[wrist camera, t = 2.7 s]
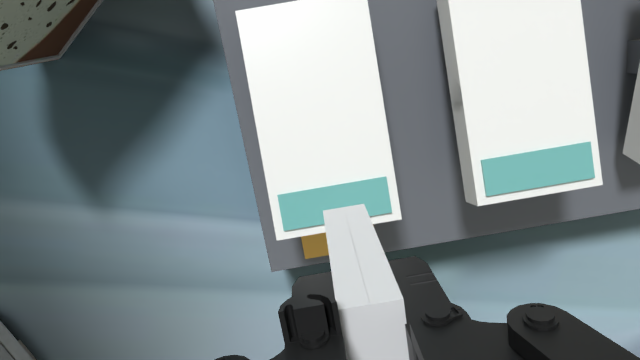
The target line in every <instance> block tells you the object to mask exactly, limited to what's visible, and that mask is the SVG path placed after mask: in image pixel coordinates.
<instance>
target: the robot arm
mask: <svg viewBox="0 0 640 360" xmlns="http://www.w3.org/2000/svg"><path fill="white" fill-rule="evenodd" d="M323 216H324V223H325V230H326V237H327V244H328V251H329V259H330V266H331V272H325V273H319V274H314V275H308V276H302V277H299V278H298V279H297V281H296V282H295V283H294V285H293V286H292V297H291V298H289V299H288V300H286V301H285V302H284V303H283V304H282V305H281V306H280V309H279V311H278V314H279V319H280V323H281V328H282V333H283V337H284V342H285V349H284V350H283V351H282V352H281V353H280V354H278V355H277V356H275V357H274V358H272V359H270V360H640V358H638V357H637V356H635V355H634V354H632V353H631V352H629V351H627V350H626V349H624V348H623V347H621V346H620V345H618V344H616V343H615V342H613V341H612V340H610V339H609V338H607V337H605V336H604V335H602V334H601V333H599V332H598V331H596V330H594V329H593V328H591V327H590V326H588V325H587V324H585V323H583V322H582V321H580V320H579V319H577V318H576V317H574V316H572V315H571V314H569V313H568V312H566V311H564V310H562V309H560V308H558V307H555V306H551V305H546V304H541V303H537V304H535V303H530V304H524V305H519V306H517V307H515V308H513V309H512V310H510V312H509V313H508V315H507V323H488V322H479V321H475V320H471V318H470V317H469V315H468V314H467V312H466V311H465V310H464V309H462V308H461V307H459V306H457V305H455V304H452V303H451V302H450V301H449V299H448V297H447V296H446V294H445V292H444V291H443V289H442V287H441V286H440V284H439V282H438V281H437V279H436V277H435V276H434V274H433V273H432V271H431V269H430V267H429V266H428V264H427V263H426V262H425V261H423V260H421V259H419V258H418V257H416V256H413V257H407V258H401V259H395V260H389V261H388V260H387V258H386V255H385V253H384V251H383V248H382V246H381V243H380V241H379V239H378V236H377V234H376V231H375V229H374V227H373V224H372V222H371V219H370V217H369V215H368V212H367V210H366V207H365V205H364V204H359V205H353V206H347V207H341V208H335V209H329V210H323ZM215 360H249V359H248V358H246V357H245V356H239V355H230V356H223V357H220V358H217V359H215Z"/></svg>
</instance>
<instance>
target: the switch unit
mask: <svg viewBox="0 0 640 360" xmlns="http://www.w3.org/2000/svg"><path fill="white" fill-rule="evenodd" d="M291 1H297V0H213V2H214V7H215V11H216V16H217V21H218V25H219V30H220V35H221V39H222V44H223V49H224V53H225V58H226V63H227V67H228V72H229V76H230V81H231V86H232V90H233V95H234V100H235V104H236V109H237V114H238V118H239V123H240V128H241V132H242V137H243V142H244V146H245V151H246V156H247V160H248V165H249V169H250V174H251V179H252V183H253V188H254V193H255V197H256V202H257V207H258V211H259V216H260V221H261V225H262V230H263V235H264V239H265V244H266V249H267V253H268V258H269V263H270V267H271V272H274V271H280V270H285V269H291V268H297V267H303V266H309V265H315V264H320V263H326V262H330V259H329V251H328V244H327V237H326V232H325V233H319V234H313V235H307V236H301V237H295V238H290V239H284V240H278V241H277V240H276V234H275V229H274V223H273V218H272V212H271V207H270V201H269V196H268V190H267V185H266V179H265V173H264V168H263V162H262V157H261V151H260V146H259V140H258V135H257V129H256V124H255V118H254V112H253V107H252V101H251V96H250V90H249V85H248V79H247V74H246V68H245V62H244V57H243V51H242V46H241V40H240V35H239V29H238V24H237V18H236V13H235V11H238V10H244V9H250V8H256V7H262V6H268V5H274V4H279V3H285V2H291ZM367 1H368V7H369V14H370V20H371V26H372V33H373V39H374V45H375V52H376V58H377V64H378V71H379V77H380V83H381V90H382V96H383V102H384V109H385V115H386V122H387V128H388V134H389V141H390V147H391V153H392V160H393V166H394V172H395V179H396V185H397V191H398V198H399V204H400V210H401V217H402V219H401V220H395V221H389V222H383V223H377V224H373V227H374V229H375V231H376V234H377V236H378V239H379V241H380V243H381V246H382V248H383V251H384V253H385V252H391V251H396V250H402V249H408V248H414V247H420V246H426V245H431V244H437V243H443V242H449V241H455V240H461V239H466V238H472V237H478V236H484V235H490V234H496V233H501V232H507V231H513V230H519V229H525V228H531V227H537V226H542V225H548V224H554V223H560V222H566V221H572V220H577V219H583V218H589V217H595V216H601V215H607V214H612V213H618V212H624V211H630V210H636V209H640V164H638V163H637V162H635V161H634V160H632V159H631V158H629V157H627V156H626V155H624V154H623V148H624V142H625V137H626V132H627V126H628V121H629V116H630V110H631V105H632V100H633V95H634V89H635V84H636V79H637V73H638V68H639V63H640V0H581V8H582V17H583V25H584V33H585V41H586V50H587V58H588V66H589V74H590V83H591V91H592V99H593V107H594V116H595V124H596V132H597V140H598V149H599V157H600V165H601V173H602V182H603V185H599V186H593V187H588V188H582V189H576V190H570V191H564V192H558V193H553V194H547V195H541V196H535V197H529V198H523V199H517V200H512V201H506V202H500V203H494V204H488V205H482V206H476V205H473V204H470V203H468V202H466V200H465V193H464V186H463V179H462V172H461V165H460V158H459V152H458V145H457V138H456V131H455V124H454V117H453V110H452V103H451V97H450V90H449V83H448V76H447V69H446V62H445V55H444V49H443V42H442V35H441V28H440V21H439V14H438V7H437V0H367Z"/></svg>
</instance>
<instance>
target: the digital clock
mask: <svg viewBox="0 0 640 360" xmlns="http://www.w3.org/2000/svg"><path fill="white" fill-rule="evenodd" d="M0 360H36V358H35V357H34V356H33V355H32V354H31V352H30V351H29V350H28V349H27V348H26V346H25V345H24V344H23V343H22V342H21V340H18V341H17V340H16V339H15V337H14V336H13V335H12V334H11V333H10V331H9V330H8V329H7V328H6V327H5V325H4V324H3V323H2V322H1V321H0Z"/></svg>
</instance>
